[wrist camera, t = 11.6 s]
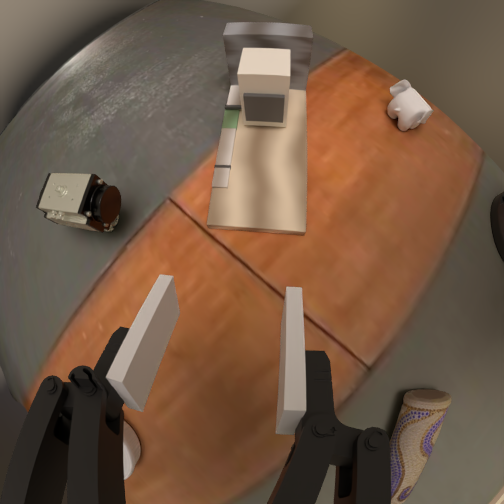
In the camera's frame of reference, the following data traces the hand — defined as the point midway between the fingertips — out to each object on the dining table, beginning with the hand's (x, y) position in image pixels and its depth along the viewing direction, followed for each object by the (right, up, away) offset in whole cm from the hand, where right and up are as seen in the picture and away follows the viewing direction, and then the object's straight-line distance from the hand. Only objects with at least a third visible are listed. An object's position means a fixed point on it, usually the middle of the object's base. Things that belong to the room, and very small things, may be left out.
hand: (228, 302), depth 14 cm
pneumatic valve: (-20, +7, +22) cm, 30 cm away
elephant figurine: (+28, +26, +23) cm, 44 cm away
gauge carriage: (+2, +24, +22) cm, 33 cm away
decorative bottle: (+21, -27, +12) cm, 36 cm away
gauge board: (+3, +19, +23) cm, 30 cm away
